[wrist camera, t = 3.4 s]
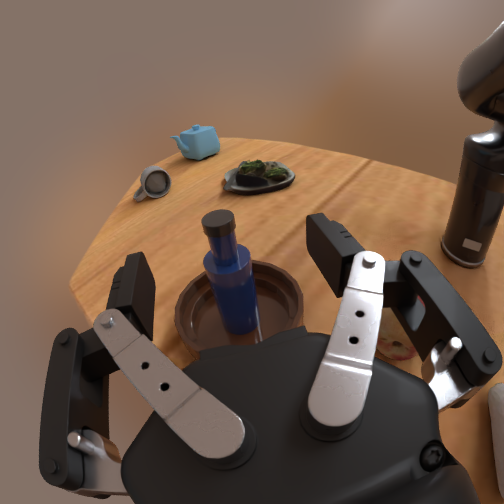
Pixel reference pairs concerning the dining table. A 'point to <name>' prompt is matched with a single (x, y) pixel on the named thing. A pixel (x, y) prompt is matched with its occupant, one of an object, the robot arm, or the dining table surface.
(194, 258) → the dining table surface
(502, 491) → the seashell
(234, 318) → the soy bottle
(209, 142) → the teapot
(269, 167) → the salad plate
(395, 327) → the fruit
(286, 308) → the bowl
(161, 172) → the ceramic mug
